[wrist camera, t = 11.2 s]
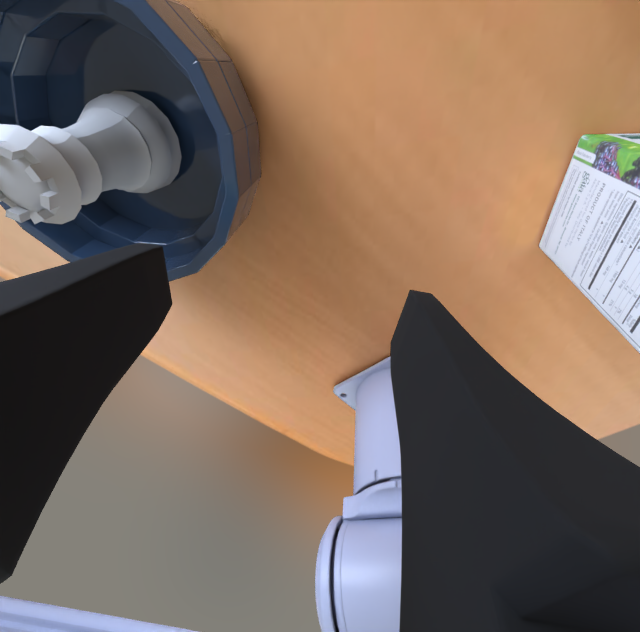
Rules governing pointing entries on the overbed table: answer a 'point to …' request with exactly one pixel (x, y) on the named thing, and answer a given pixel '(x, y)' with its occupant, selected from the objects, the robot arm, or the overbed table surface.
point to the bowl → (153, 84)
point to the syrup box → (601, 228)
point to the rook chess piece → (86, 158)
